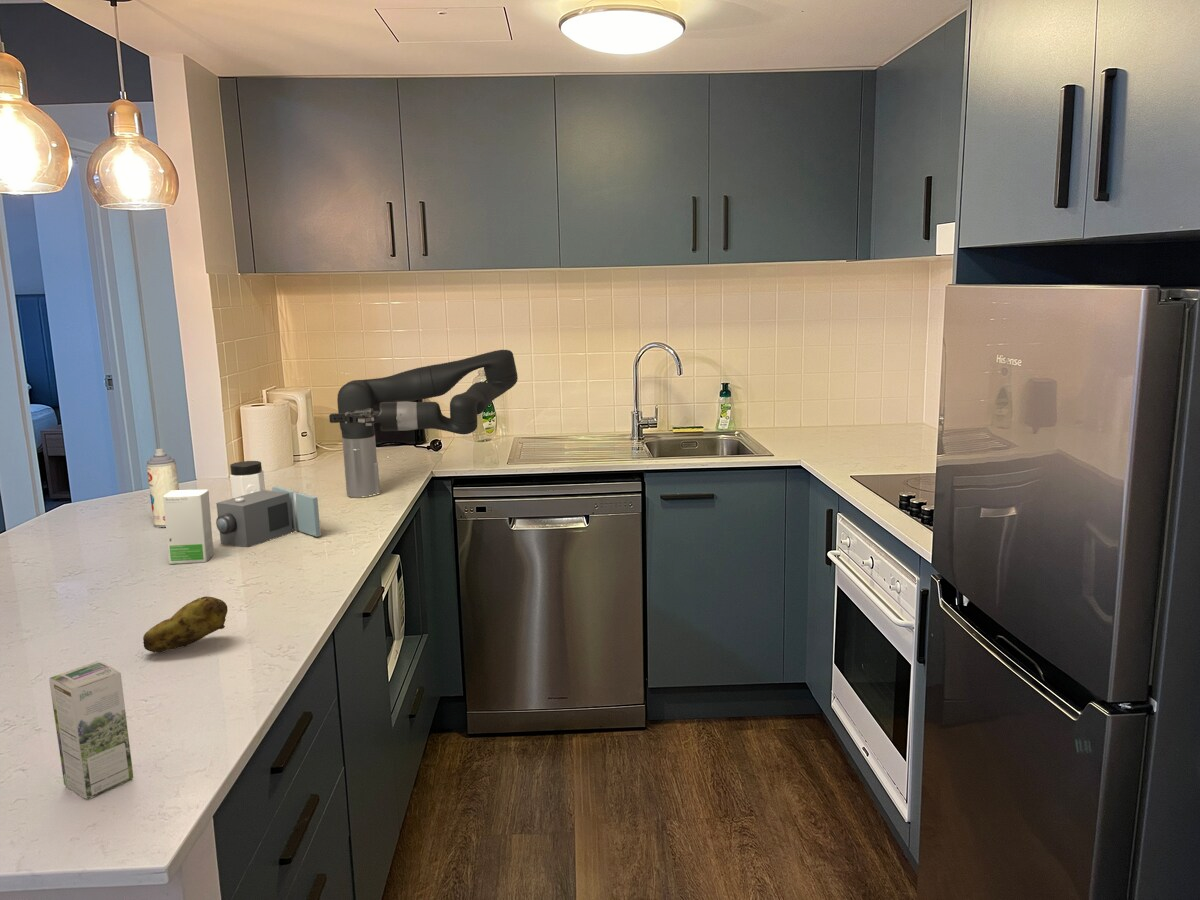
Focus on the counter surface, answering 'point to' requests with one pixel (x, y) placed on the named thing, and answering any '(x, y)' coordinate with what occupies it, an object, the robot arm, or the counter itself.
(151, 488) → the aerosol can
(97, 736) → the syrup box
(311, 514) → the side door
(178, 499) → the skincare box
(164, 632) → the potato
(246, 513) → the block
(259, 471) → the jar
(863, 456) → the counter surface
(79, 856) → the counter surface
